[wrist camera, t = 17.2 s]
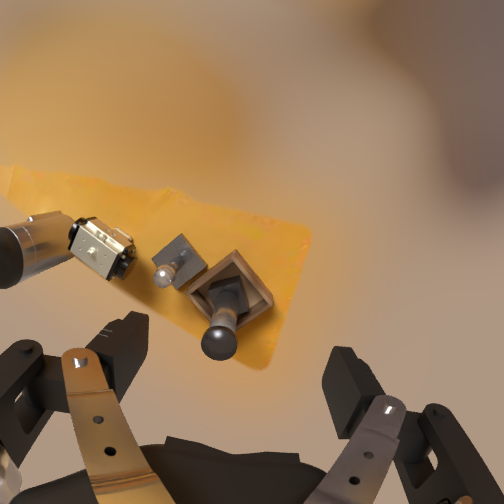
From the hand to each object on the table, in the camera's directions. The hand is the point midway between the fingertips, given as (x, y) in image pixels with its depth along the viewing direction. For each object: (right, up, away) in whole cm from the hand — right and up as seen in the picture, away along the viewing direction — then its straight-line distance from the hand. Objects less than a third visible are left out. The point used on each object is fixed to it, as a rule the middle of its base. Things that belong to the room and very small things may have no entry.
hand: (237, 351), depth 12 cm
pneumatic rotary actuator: (-23, +7, +38) cm, 45 cm away
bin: (-3, -2, +40) cm, 40 cm away
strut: (-3, -3, +39) cm, 39 cm away
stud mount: (-12, +3, +38) cm, 40 cm away
